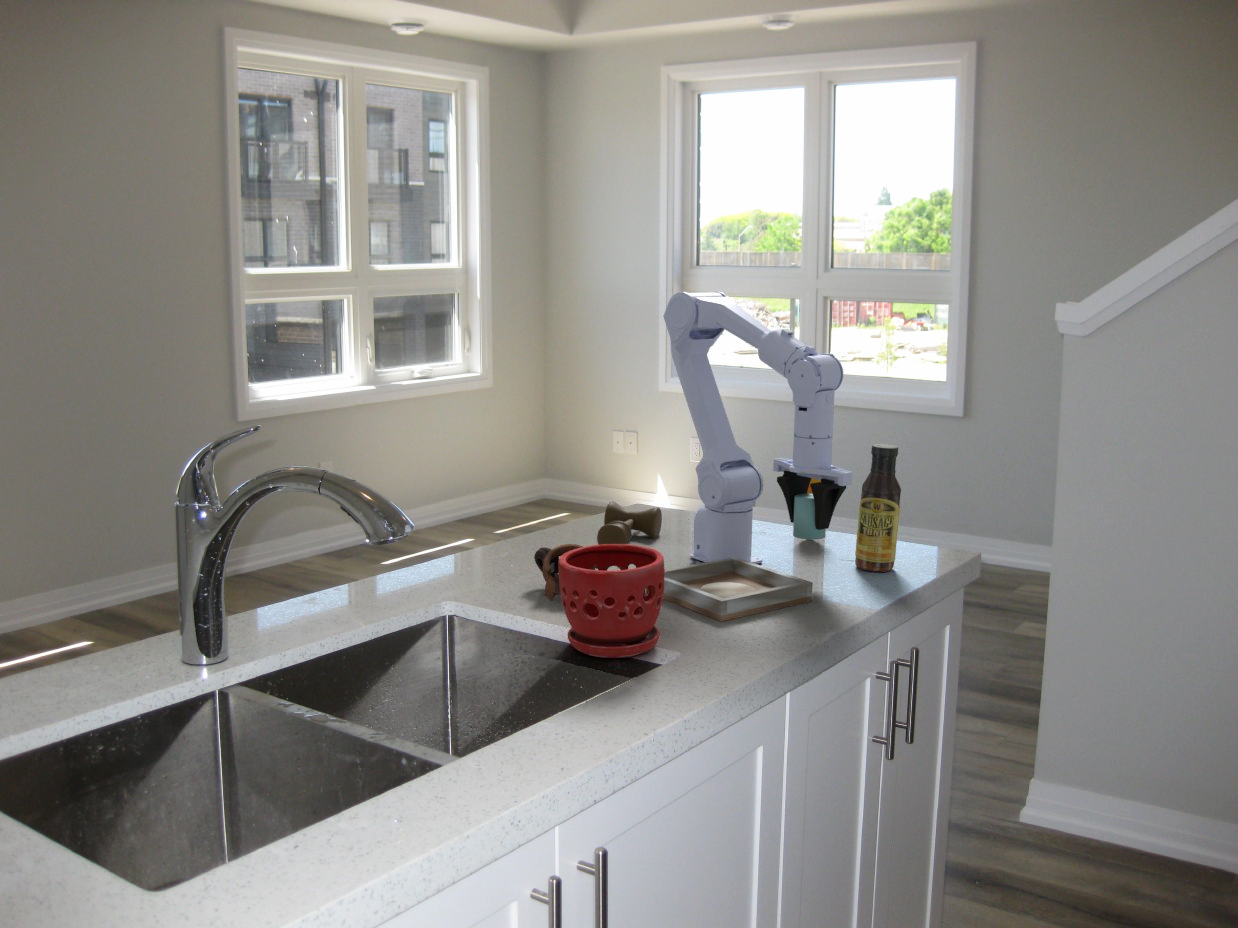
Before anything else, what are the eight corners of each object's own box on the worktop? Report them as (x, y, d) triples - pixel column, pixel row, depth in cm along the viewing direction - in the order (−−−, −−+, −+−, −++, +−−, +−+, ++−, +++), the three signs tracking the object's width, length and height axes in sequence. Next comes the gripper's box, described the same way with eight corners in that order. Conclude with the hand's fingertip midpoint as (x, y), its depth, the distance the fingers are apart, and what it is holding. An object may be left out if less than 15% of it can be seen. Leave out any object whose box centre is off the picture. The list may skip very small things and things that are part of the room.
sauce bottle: (851, 570, 182) (857, 446, 178) (858, 561, 187) (864, 441, 184) (893, 575, 179) (900, 449, 176) (899, 565, 185) (906, 443, 182)
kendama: (582, 553, 193) (617, 525, 212) (637, 560, 190) (667, 530, 209) (583, 519, 192) (618, 493, 210) (638, 525, 189) (669, 498, 208)
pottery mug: (616, 592, 170) (613, 552, 165) (577, 632, 165) (572, 593, 160) (554, 560, 176) (549, 521, 171) (514, 598, 171) (507, 558, 166)
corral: (646, 591, 169) (646, 573, 169) (733, 574, 179) (734, 557, 178) (721, 621, 155) (721, 601, 155) (811, 601, 165) (812, 582, 165)
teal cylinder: (786, 534, 174) (787, 495, 173) (809, 530, 177) (810, 492, 176) (809, 541, 170) (810, 501, 169) (831, 536, 173) (833, 497, 172)
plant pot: (584, 626, 153) (584, 538, 151) (677, 639, 148) (679, 548, 146) (540, 656, 141) (540, 561, 139) (640, 671, 136) (641, 573, 134)
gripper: (759, 431, 175) (756, 519, 177) (829, 444, 163) (825, 538, 165) (793, 428, 179) (790, 513, 181) (864, 440, 167) (859, 531, 169)
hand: (809, 525), depth 173 cm, fingers closed on teal cylinder, 5 cm apart
